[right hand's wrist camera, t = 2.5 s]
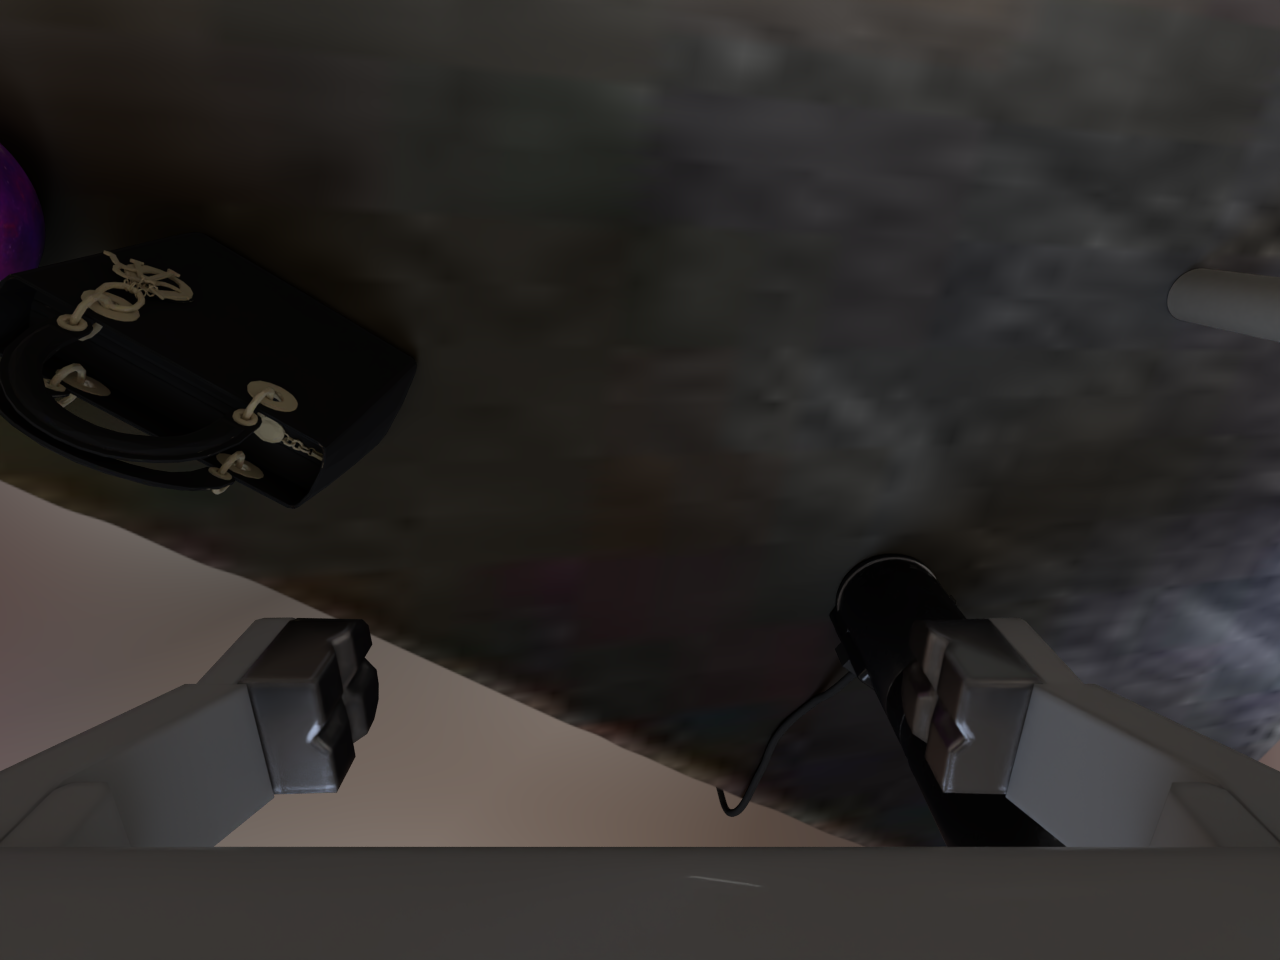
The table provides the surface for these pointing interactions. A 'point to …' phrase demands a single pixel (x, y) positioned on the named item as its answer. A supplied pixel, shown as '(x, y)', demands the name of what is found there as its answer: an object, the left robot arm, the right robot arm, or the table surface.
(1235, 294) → the bottle
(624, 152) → the table surface
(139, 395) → the handbag
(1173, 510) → the table surface
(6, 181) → the decorative orb
